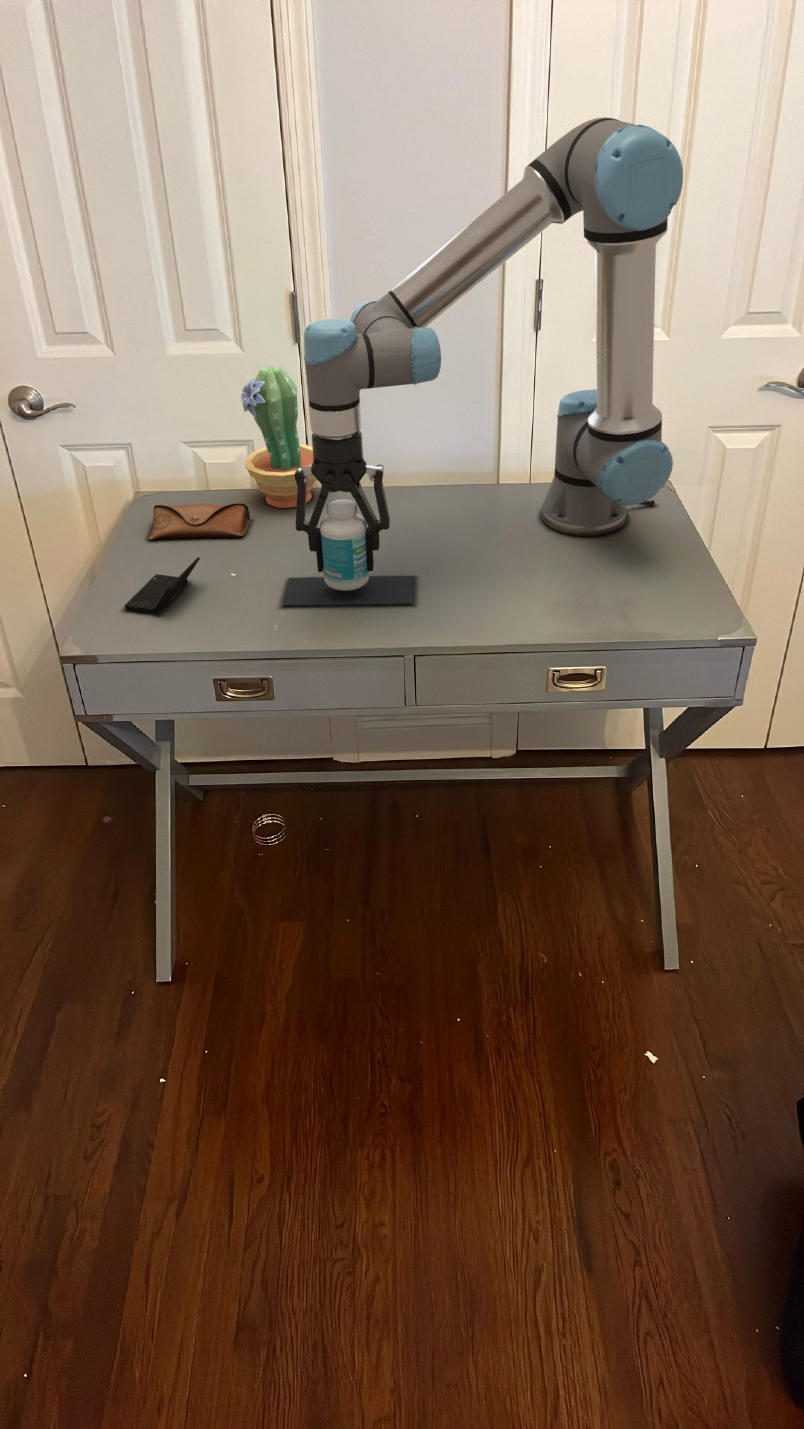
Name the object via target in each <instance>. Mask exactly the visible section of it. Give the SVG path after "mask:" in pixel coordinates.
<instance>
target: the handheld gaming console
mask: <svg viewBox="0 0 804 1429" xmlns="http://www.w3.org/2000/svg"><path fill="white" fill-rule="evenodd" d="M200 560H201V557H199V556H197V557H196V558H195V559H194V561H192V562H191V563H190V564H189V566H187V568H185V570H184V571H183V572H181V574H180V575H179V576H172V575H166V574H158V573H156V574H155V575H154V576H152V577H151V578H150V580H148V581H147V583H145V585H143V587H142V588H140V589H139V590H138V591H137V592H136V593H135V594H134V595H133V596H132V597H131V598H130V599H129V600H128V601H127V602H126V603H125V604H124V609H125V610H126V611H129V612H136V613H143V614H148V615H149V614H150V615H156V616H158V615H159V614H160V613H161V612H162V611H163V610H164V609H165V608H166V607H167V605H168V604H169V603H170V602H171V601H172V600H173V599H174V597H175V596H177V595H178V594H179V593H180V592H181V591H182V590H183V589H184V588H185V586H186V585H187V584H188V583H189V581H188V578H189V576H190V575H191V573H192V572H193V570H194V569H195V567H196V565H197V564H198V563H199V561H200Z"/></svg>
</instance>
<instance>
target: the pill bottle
mask: <svg viewBox="0 0 804 1429" xmlns="http://www.w3.org/2000/svg"><path fill="white" fill-rule="evenodd" d="M367 527H368V525H367V523H366V521H365V519H364V517H363V515H361V514H358V505H357V503H356V501H355V500H354V501H353V500H351V499H342V498H341V499H337V500H332V501H330V502H329V503H327V505H326V516H325V517H323V518H322V519H321V521H320V524H319V528H320V536H321V547H322V559H323V572H322V573H323V577H324V580H325V583H326V584H327V585H328V586H329V587H331V588H333V589H336V590H342V591H349V590H355V589H358V588H360V587H362V586H364V585H365V584H366V583H367V582H368V579H369V577H370V571H368V558H367V540H366V532H367Z"/></svg>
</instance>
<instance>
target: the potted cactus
mask: <svg viewBox="0 0 804 1429" xmlns="http://www.w3.org/2000/svg"><path fill="white" fill-rule="evenodd" d="M241 391H242V392H241V394H240V396H241V403H242V408H243V412H244V413H247V412H249V413H250V414H251V415H252V416H253V419H254V421H255V423H256V424H257V426H258V428H259V430H260V432H261V434H262V437H263V440H264V443H265V446H264V447H261V448H259V449H257V450H255V451H252V452H250V453H249V455H247V457H246V458H245V459H244V460H243V462H244V465H245V468H246V470H247V472H248V474H249V477H251V478H253V479H254V480H255V482H256V485H257V487H258V489H259V490H260V491H261V493H263V494H264V495H265V501H266V504H268V505H270V506H272V507H275V508H286V509H289V508H294V507H296V508H297V490H298V486H297V483H296V480H295V477H294V475H295V471H296V468H297V466H302V467H303V468H304V467H309V466H312V463H313V448H312V445H311V446H310V445H308V444H304V443H303V444H301V443H300V440H299V434H298V428H297V426H298V417H299V410H298V409H299V408H298V407H299V406H298V387H297V385H296V383H295V382H294V379H292V377H291V376H290V375H289V374H288V373H287V372H286V371H285V370H284V368H282V366H278V367H276V368H275V367H274V366H273V365H269V366H268V367H267V369H265V368H260V369H259V371H258V373H257V375H256V377H253V378H252V379H250V380H249V381H248V383H246V384H245V385H244V386H243V388H242V390H241ZM317 481H318V480H317V479H316V478H315V476H314V475H313V474H312V475H310V480H309V482H307V491H306V504H307V503H309V502H310V500H311V498H312V497H313V496H312V493H311V491H312V489H313V487H314V486H315V485H316V483H317Z"/></svg>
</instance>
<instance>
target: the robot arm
mask: <svg viewBox="0 0 804 1429" xmlns="http://www.w3.org/2000/svg"><path fill="white" fill-rule="evenodd" d="M682 162H683V161H682V159H681V156H680V153H679V151H678V149H677V148H676V146H675V144H673V142H672V141H671V140H670V139H669V138H668V137H666V136H665V135H664V134H662V133H661V132H659V131H658V130H657V129H654V128H652V127H651V126H649V125H648V126H647V125H645V124H644V125H643V124H636V123H635V124H634V123H630V122H626V121H623V120H620V119H617V118H614V117H613V118H612V117H607V116H606V117H605V116H604V117H596V118H593V119H590V120H589V119H588V120H586V121H584V122H582V123H581V124H579V125H577V126H575V127H573V128H572V129H571V130H569V131H568V132H567V133H565V134H564V135H562V136H561V137H560V138H559V139H557V140H556V141H555V142H554V143H552V144H551V145H550V146H548V148H546V149H545V150H544V151H543V152H542V153H541V154H539V155H538V156H537V157H536V158H534V159H533V160H532V161H531V162H530V163H529V164H527V165H526V166H525V167H524V169H523V176H522V178H521V180H519V182H517V183H516V184H515V185H513V187H511V188H510V189H509V190H508V191H507V192H506V193H504V194H503V195H502V196H500V197H499V199H497V200H496V201H495V202H494V203H493V204H491V205H490V206H489V207H488V208H487V209H485V210H484V211H483V212H482V213H481V214H479V215H478V216H477V217H476V218H475V219H474V220H472V221H471V222H470V223H469V224H468V225H467V226H465V227H464V228H463V229H462V230H461V231H460V232H458V233H457V234H456V235H455V236H453V237H452V238H451V239H450V240H449V241H447V242H446V243H445V244H444V245H443V246H442V247H440V248H439V249H438V250H437V251H435V252H434V253H433V254H432V255H431V256H430V257H429V258H427V259H426V260H425V261H424V262H423V263H422V264H420V265H419V266H417V268H416V269H415V270H413V271H412V272H411V273H410V274H408V275H407V276H406V277H405V278H404V279H403V280H402V281H400V282H399V283H398V284H397V285H396V286H394V287H393V288H392V289H391V290H389V291H388V292H386V293H385V294H384V295H383V296H381V298H380V299H378V300H373V299H372V300H367V301H364V302H362V303H361V304H359V305H358V306H357V307H356V308H355V309H354V310H353V312H352V314H351V317H350V320H348V319H344V318H336V319H335V318H324V319H318V320H316V321H313V322H311V323H310V324H308V325H307V326H306V328H305V329H304V331H303V341H304V342H303V345H304V346H303V347H304V350H303V351H304V356H303V361H304V367H305V377H306V378H305V379H306V388H307V396H308V399H307V400H308V413H309V424H310V431H311V432H312V434H311V447H312V448H313V463H312V466H309V467H304V468H303V467H302V466H297V468H296V471H295V475H294V477H295V480H296V483H297V486H298V490H297V506H296V510H295V511H296V512H295V530H296V531H297V532H305V533H306V534H307V539H308V549H309V551H310V552H312V553H313V552H315V553H316V554H315V555H316V564H317V565H316V566H317V572H318V573H324V572H323V559H322V547H321V536H320V527H318V524H319V521H320V519H321V516H322V513H323V510H324V507H325V505H326V502H327V499H328V496H329V494H330V493H337V492H343V493H350V494H351V496H352V498H353V499H354V502H355V503H356V505H357V508H358V509H359V511H360V513H361V516H362V517H363V518H364V520H365V521H366V525H367V532H366V540H367V558H368V571H369V572H373V571H374V562H375V561H374V551H379V549H380V544H381V543H380V532H381V531H383V530H386V531H388V530H389V529H390V525H391V524H390V523H391V522H390V521H391V518H390V512H389V507H388V502H387V497H386V493H385V487H384V486H385V485H384V481H383V478H384V472H385V470H384V469H385V467H384V465H383V464H380V463H379V464H377V465H376V466H375V465H370V464H368V463H367V462H366V460H365V459H364V448H363V433H362V431H361V429H362V415H361V414H362V412H361V397H360V393H361V390H369V389H370V390H371V389H377V388H378V389H379V388H387V387H396V386H405V385H408V386H409V385H414V386H416V385H418V384H422V383H427V382H431V381H434V380H436V379H437V378H438V377H439V374H440V372H441V367H442V350H441V345H440V339H439V336H438V333H437V332H436V331H435V329H434V328H432V327H430V326H429V325H430V324H431V323H432V322H434V321H435V320H436V319H437V318H439V316H441V315H442V314H443V313H444V312H446V311H447V310H449V308H451V307H452V306H453V305H455V304H456V302H458V301H460V299H462V298H463V297H464V296H465V295H467V294H468V293H469V292H470V291H471V290H473V289H474V288H475V287H476V286H478V285H479V284H480V283H481V282H483V281H484V280H485V279H486V278H487V277H489V276H490V275H491V274H492V273H494V272H495V271H496V270H497V269H498V268H499V267H501V266H502V265H503V264H504V263H506V262H507V261H508V260H509V259H511V258H512V257H513V256H514V255H516V254H517V253H518V252H519V251H520V250H522V248H524V247H525V246H526V245H527V244H529V243H530V242H531V241H533V239H535V238H536V237H537V236H539V235H540V234H541V233H542V232H544V231H545V230H546V229H547V228H548V227H550V226H551V225H559V226H562V225H563V224H564V223H565V222H567V221H568V220H569V219H570V218H573V216H575V215H576V214H579V213H581V212H582V215H583V219H582V220H583V222H582V223H583V240H584V242H586V243H587V244H588V245H589V246H590V247H591V248H592V249H593V250H594V281H595V282H594V283H595V284H594V287H595V289H594V290H595V292H594V293H595V344H596V345H595V348H596V351H595V353H596V354H595V355H596V389H584V390H576V391H573V392H569V393H567V394H566V395H564V396H562V397H561V399H560V401H559V405H558V411H557V414H556V418H557V423H556V441H555V456H554V457H555V459H554V474H553V478H552V481H551V483H550V486H549V488H548V490H547V493H546V494H545V495H546V496H545V498H544V501H543V503H542V506H541V520H542V521H543V523H544V524H546V525H547V527H549V528H551V529H553V530H555V531H557V532H560V533H563V534H566V535H567V534H568V535H572V536H581V537H583V536H584V537H590V536H591V537H592V536H601V535H605V534H606V535H607V534H610V533H612V532H615V531H617V530H619V529H621V528H622V527H623V525H624V524H625V523H626V518H627V506H635V505H636V506H637V505H640V506H653V505H655V503H656V502H655V500H654V499H652V498H654V497H655V496H656V495H657V494H658V492H660V490H661V489H663V488H665V486H666V484H667V483H668V481H669V480H670V477H671V475H672V471H673V466H674V460H673V456H672V453H671V450H670V449H669V447H668V446H667V444H665V443H664V442H663V441H662V438H663V436H662V435H663V434H662V433H663V412H662V411H661V410H660V409H659V408H658V407H657V406H656V405H655V404H653V399H654V398H653V397H654V396H653V394H654V393H653V392H654V350H655V304H656V303H655V302H656V301H655V300H656V259H657V258H656V257H657V256H656V255H657V254H656V253H657V252H656V251H657V244H658V243H659V241H660V240H661V239H662V238H663V236H665V235H666V234H667V232H668V218H669V216H670V215H671V213H672V210H673V208H674V206H676V205H677V204H678V202H679V199H680V197H681V194H682V190H683V183H684V168H683V163H682ZM428 326H429V327H428ZM312 474H313V475H314V476H315V478H316V479H317V481H318V483H319V484H321V487H320V489H319V492H318V496H317V499H316V501H315V504H314V507H313V510H312V513H311V516H310V519H309V520H307V519H306V505H307V503H306V491H307V482H309V480H310V475H312ZM366 474H367V475H368V479H369V480H370V481H371V482H373V490H374V496H375V500H376V501H375V502H376V505H377V509H378V510H377V511H378V514H379V519H378V518H377V516H376V515H375V512H374V510H373V508H372V506H371V503H370V502H369V500H368V497H367V495H366V493H365V491H364V489H363V486H362V484H361V480H362V479H363V478H364V477H365V475H366ZM651 499H652V500H651Z"/></svg>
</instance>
